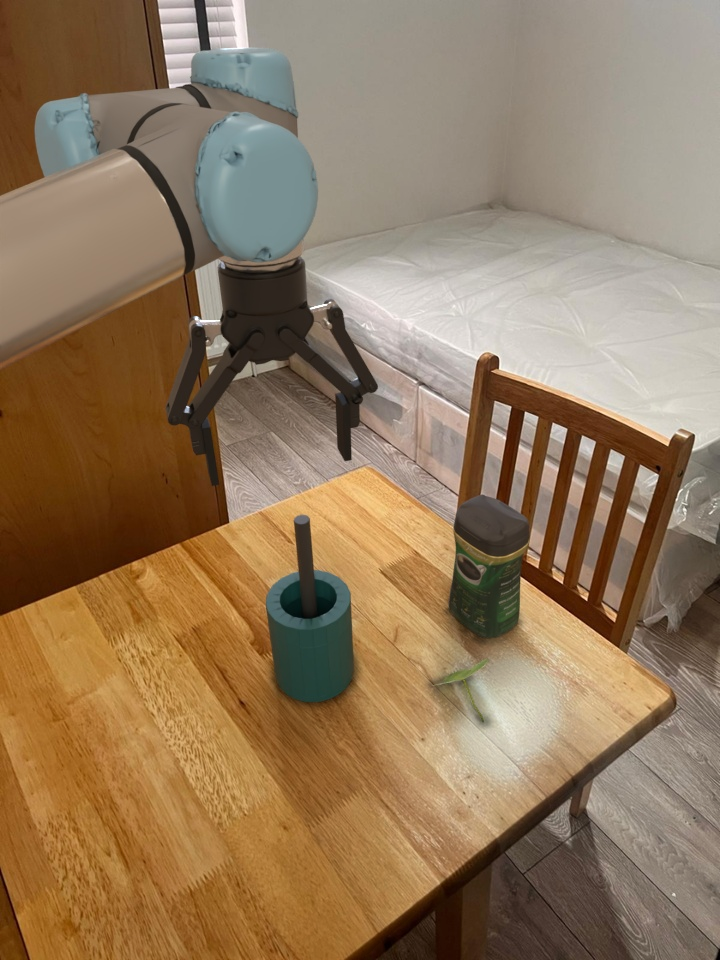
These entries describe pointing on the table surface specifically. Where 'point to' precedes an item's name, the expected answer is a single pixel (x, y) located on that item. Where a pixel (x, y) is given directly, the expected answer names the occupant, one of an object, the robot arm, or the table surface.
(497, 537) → the coffee jar
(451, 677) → the seedling
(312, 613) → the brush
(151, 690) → the table surface
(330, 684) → the cup
